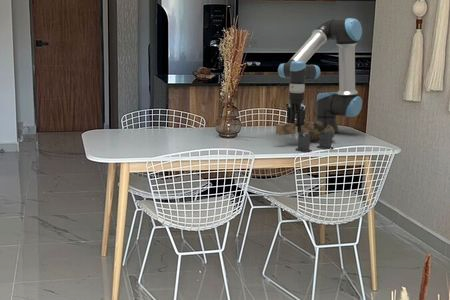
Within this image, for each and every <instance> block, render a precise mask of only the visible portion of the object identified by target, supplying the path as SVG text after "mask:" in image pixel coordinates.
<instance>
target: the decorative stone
mask: <svg viewBox="0 0 450 300" xmlns="http://www.w3.org/2000/svg"><path fill="white" fill-rule="evenodd" d="M313 122H314V132H309V133H310V142H316V141H318V142H320V130H325V134H327V132H328V131H332V138H331V142H332V141H333V138H334V137H335V134H336V133H335V130H334V129H333V127H332V126H330V125H327V127H326V128H325V129H324V127H323V123H322V122H321V121H313Z"/></svg>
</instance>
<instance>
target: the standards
mask: <svg viewBox="0 0 450 300" xmlns="http://www.w3.org/2000/svg"><path fill="white" fill-rule="evenodd" d="M304 134H305V135H304ZM331 138H332V131H328V132H327V134H325V130H320V141H319V144H318V145H316V148H317V149H323V150H325V149H330V148H333V149H334V147H333V146H332V141H331ZM310 142H311V141H310V133H303V132H298V139H297V148H295V149H294V150H295V151H298V152H300V153H311V152H310V151H313V150H312V149H310V145H311V143H310ZM330 150H331V149H330Z"/></svg>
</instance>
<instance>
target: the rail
mask: <svg viewBox="0 0 450 300" xmlns="http://www.w3.org/2000/svg"><path fill="white" fill-rule="evenodd" d="M296 125H297V122H294V123H287V122H286V123H276V124H275V135H277V136H285V135H290V134H295V129H296ZM301 132H303V134H308V133H309V132H314V121H305V123H304V125H303V126H301Z"/></svg>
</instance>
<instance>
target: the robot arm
mask: <svg viewBox="0 0 450 300" xmlns="http://www.w3.org/2000/svg"><path fill="white" fill-rule="evenodd" d="M362 35H363V27H362V25H361V22H360V21H359V20H358V19H357V18H352V17H351V18H350V17H345V18H335V17H334V18H328V19H327V20H325V21H323V22H321V23H320V24H319V25H317V26H316V28H315V29H313V30H312V32H311V36H310V37H309V38H308V39H307V40H306V41H305V42H304V43H303V45H302V46H301V47H300V48H299V49H298V50H297V51H296V52H295V54H293V56H292V57H291V58H290V59H289V60H288V62H286V63H285V62H284V63H280V64H279V66H278V68H277V73H278V74H277V75H278V76H279V77H280V78H282V79H283V78H285V79H289V89H288V90H289V94H288V99H289V103H286V105H285V106H286V123H297V125H296V129H295V134H289V138H290V139H293V138H294V139H295V140H298V132H301V126H303V125H304V123H305V122H306V110H307V106H306V105H304V103H303V101H304V100H305V93H304V92H305V85H306V84H305V81H307V80H308V81H309V80H310V81H311V80H316V79H318V78H319V77H320V76H321V69H320V66H318V65H316V64H306V63H307V62H308V61H309V60H310V59H311V58H312V56H313V55H314V54H315V53H316V52H317V51H318V50H319V48H320V47H321V46H322V45H325V44H326V43H327V42H329V41H335V45H336V46H337V47H338V74H339V75H338V77H339V78H338V79H339V80H338V81H339V83H338V85H339V90H338V91H332V92H331V91H329V92H328V91H327V92H319V93H318V94H317V95H316V106H315V107H316V108H315V109H316V112H315V114H316V115H315V121H321V122H322V123H323V127H324V129H325V128H326V127H327V125H330V126H332V127H333V129H334V130H335V133H334V134H339V131H340V128H339V125H338V121H337V116H341V117H347V118H354V117H357V116H358V115H359V114H360V112H361V111H362V107H363V99H362V98H361V96H359V93H358V91H357V90H356V54H355V53H356V50H355V48H356V45H358V41H359V40H360V39H361V38H362ZM295 120H296V122H295Z"/></svg>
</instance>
